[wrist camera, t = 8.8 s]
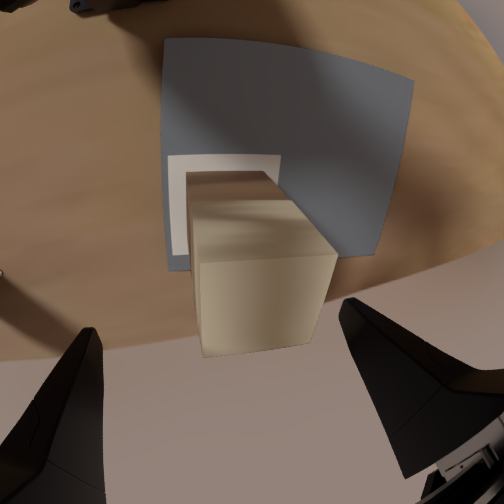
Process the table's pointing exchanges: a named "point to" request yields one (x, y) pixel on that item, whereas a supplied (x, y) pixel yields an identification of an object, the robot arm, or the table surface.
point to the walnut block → (227, 190)
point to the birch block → (256, 275)
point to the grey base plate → (283, 133)
